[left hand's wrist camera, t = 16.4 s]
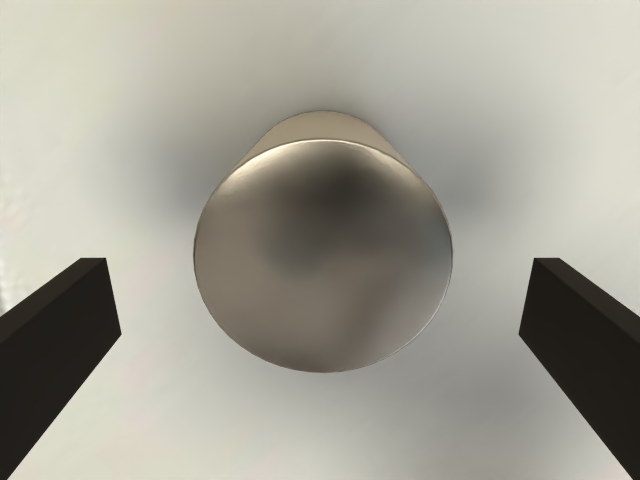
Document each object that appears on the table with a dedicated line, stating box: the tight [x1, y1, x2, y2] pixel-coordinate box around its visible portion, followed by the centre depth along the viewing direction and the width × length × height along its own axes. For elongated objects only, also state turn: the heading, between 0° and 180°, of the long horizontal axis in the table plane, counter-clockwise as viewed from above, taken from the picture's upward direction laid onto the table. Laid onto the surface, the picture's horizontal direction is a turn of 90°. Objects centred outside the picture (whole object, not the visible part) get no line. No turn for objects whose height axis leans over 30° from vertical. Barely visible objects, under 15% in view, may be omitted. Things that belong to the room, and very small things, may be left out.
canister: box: [193, 111, 453, 373], centre depth 17 cm, size 8×8×9 cm
